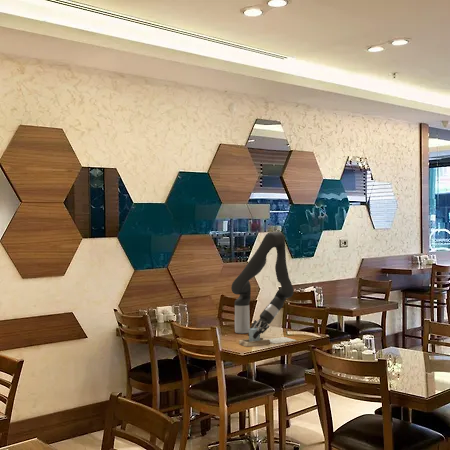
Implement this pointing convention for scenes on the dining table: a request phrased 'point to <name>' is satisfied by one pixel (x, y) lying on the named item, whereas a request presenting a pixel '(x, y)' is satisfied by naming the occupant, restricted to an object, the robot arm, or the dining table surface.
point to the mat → (280, 340)
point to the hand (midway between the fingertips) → (251, 336)
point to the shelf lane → (254, 343)
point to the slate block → (252, 332)
